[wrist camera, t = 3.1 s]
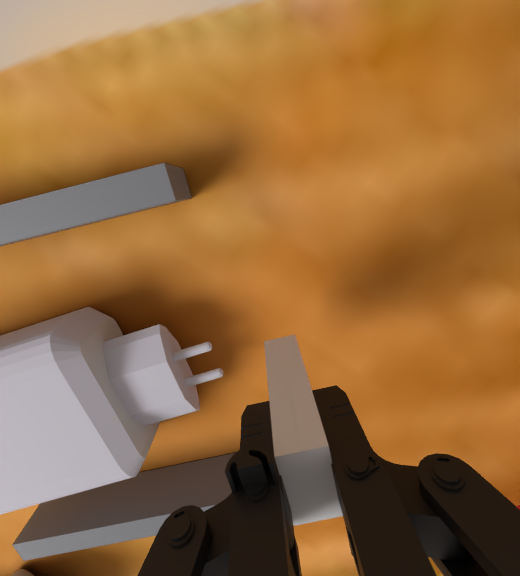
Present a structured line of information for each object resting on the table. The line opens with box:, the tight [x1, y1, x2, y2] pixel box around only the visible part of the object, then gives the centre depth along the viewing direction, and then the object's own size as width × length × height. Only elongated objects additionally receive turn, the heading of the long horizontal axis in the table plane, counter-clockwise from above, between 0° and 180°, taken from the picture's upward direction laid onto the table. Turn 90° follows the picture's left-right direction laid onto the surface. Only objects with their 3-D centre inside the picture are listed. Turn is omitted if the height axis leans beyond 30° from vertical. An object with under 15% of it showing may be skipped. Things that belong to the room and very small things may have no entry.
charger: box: [0, 307, 223, 514], centre depth 17 cm, size 5×9×15 cm
